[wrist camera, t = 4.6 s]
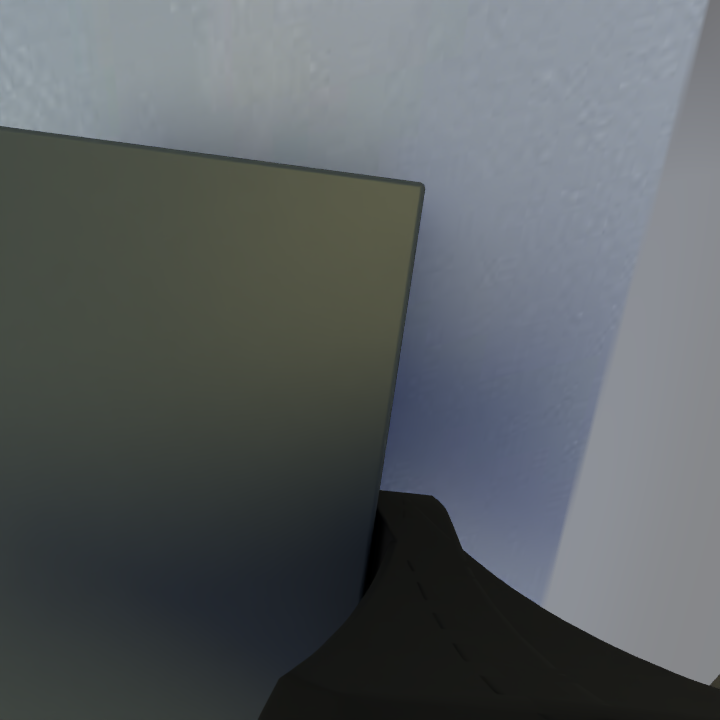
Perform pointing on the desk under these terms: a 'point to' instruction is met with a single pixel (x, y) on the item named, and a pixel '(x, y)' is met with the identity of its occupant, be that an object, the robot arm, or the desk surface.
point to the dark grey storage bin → (187, 419)
